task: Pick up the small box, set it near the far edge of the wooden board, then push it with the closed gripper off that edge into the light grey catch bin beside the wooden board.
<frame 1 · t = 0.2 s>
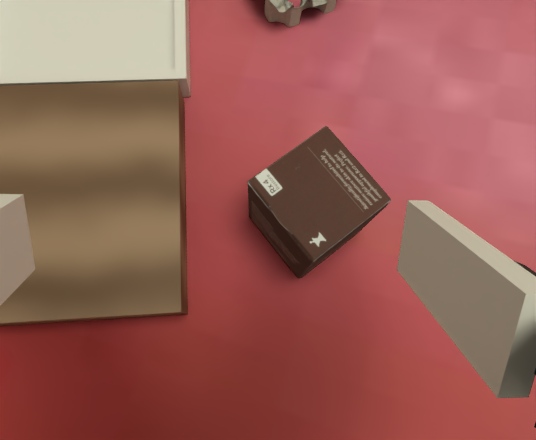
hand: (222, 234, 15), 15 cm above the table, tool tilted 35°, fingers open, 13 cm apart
box: (303, 223, 32), on the table
catch bin: (88, 32, 34), on the table
wooden board: (87, 206, 31), on the table
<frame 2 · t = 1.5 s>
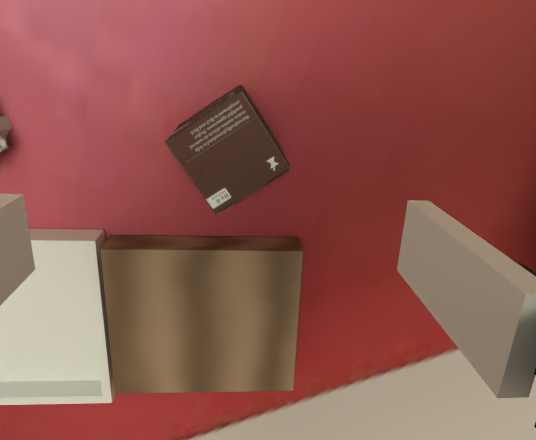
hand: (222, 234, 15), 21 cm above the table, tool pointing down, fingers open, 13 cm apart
box: (230, 136, 35), on the table
catch bin: (43, 312, 38), on the table
wooden board: (206, 307, 39), on the table
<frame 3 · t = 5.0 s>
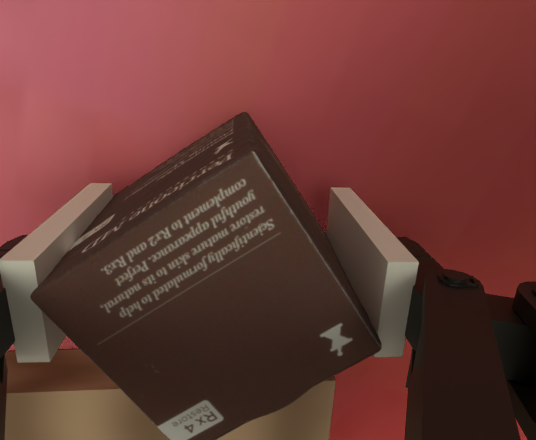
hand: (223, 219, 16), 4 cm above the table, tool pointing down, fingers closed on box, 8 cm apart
box: (223, 215, 17), point 3 cm above the table, touching gripper
when the fingers open (4 cm above the table, at t = 10.0 s): box stays where it is, resting on wooden board.
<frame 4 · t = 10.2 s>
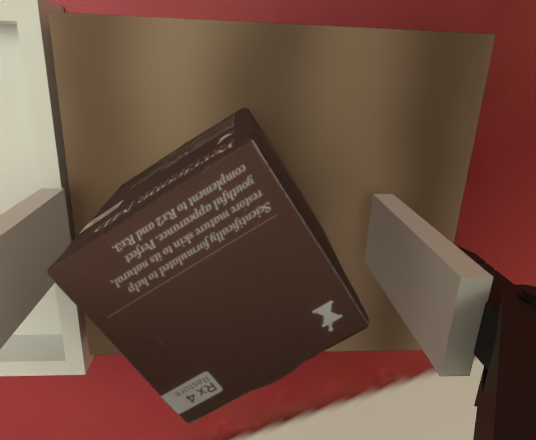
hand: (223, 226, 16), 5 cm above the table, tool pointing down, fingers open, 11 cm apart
box: (224, 206, 18), point 3 cm above the table, touching wooden board
wooden board: (267, 189, 21), on the table
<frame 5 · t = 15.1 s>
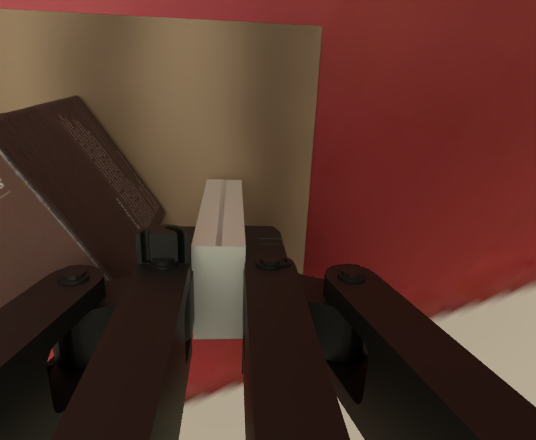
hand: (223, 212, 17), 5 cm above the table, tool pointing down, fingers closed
box: (71, 191, 18), point 3 cm above the table, touching gripper
wooden board: (138, 177, 21), on the table
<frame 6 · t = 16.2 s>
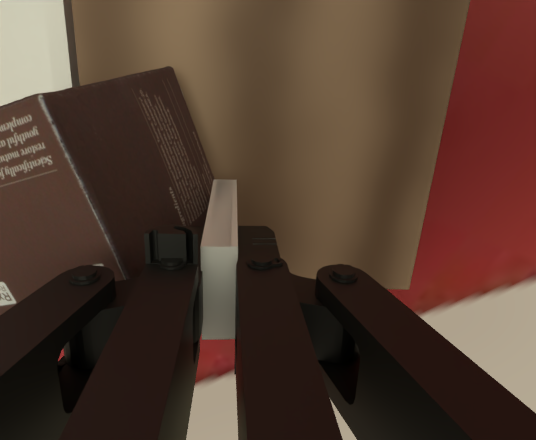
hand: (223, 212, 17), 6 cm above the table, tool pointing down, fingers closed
box: (144, 153, 19), point 4 cm above the table, touching gripper, wooden board
wooden board: (263, 139, 22), on the table
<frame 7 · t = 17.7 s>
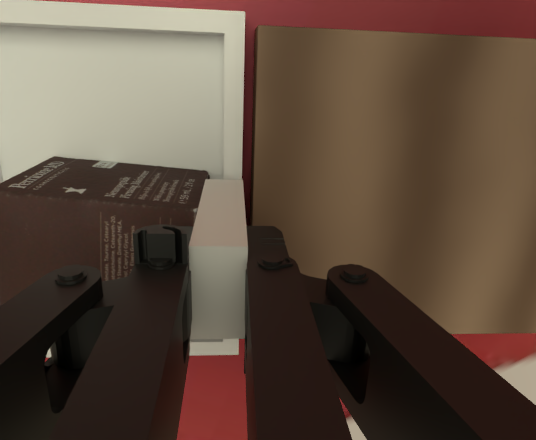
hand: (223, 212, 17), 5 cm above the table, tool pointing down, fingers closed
box: (207, 251, 19), point 3 cm above the table, touching catch bin, gripper
catch bin: (119, 189, 21), on the table
wooden board: (405, 185, 22), on the table
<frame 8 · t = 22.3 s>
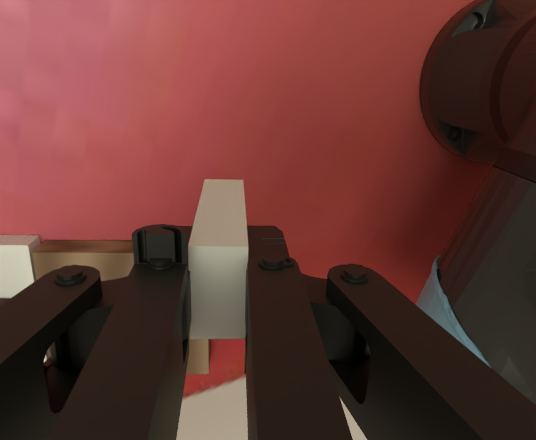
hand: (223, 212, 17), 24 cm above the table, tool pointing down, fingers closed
wooden board: (133, 301, 45), on the table
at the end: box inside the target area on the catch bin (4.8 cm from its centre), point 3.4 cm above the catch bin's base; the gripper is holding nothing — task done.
